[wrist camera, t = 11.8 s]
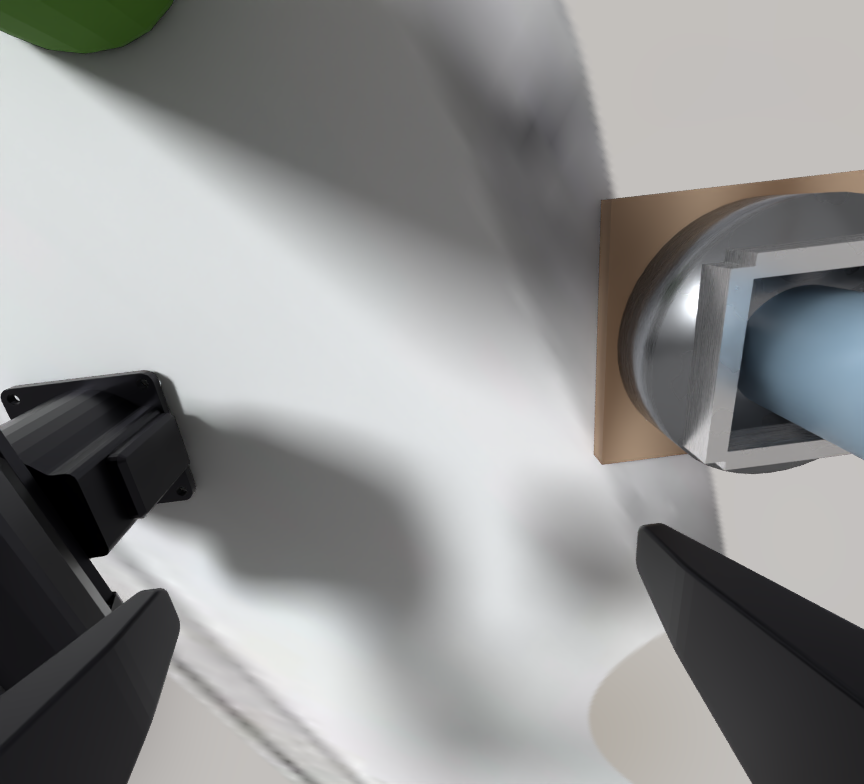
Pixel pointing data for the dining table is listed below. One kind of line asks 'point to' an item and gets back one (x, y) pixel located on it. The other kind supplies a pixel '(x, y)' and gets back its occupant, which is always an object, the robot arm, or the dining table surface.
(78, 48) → the wine bottle
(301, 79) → the dining table surface
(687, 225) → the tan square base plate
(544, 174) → the dining table surface
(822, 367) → the blue capped bottle
